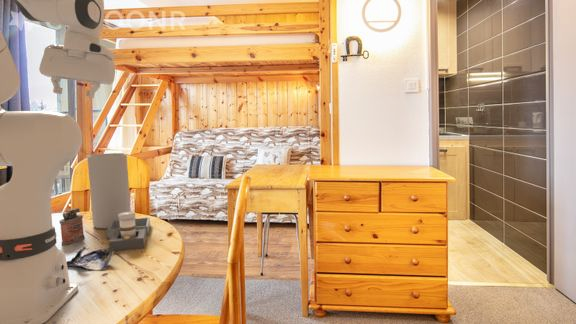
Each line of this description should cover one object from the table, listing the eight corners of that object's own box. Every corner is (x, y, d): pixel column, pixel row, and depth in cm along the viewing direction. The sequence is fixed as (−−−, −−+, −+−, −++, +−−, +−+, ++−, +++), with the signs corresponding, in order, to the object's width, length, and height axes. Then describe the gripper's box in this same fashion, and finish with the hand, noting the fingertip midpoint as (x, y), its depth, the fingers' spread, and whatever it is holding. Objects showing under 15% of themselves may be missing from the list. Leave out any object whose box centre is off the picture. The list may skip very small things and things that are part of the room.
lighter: (68, 245, 116) (65, 213, 115) (58, 245, 116) (55, 212, 115) (87, 237, 124) (84, 206, 122) (78, 237, 124) (75, 206, 123)
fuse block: (144, 248, 112) (143, 236, 111) (110, 251, 109) (109, 239, 109) (146, 238, 121) (145, 226, 121) (115, 241, 119) (114, 230, 118)
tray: (148, 235, 124) (147, 226, 124) (107, 239, 121) (106, 230, 121) (150, 225, 136) (149, 217, 135) (113, 229, 132) (112, 220, 132)
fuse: (136, 246, 114) (134, 214, 113) (119, 248, 112) (117, 216, 111) (137, 241, 118) (135, 211, 117) (121, 243, 117) (119, 212, 116)
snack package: (65, 280, 92) (118, 268, 97) (61, 253, 92) (115, 242, 98) (65, 271, 102) (113, 261, 108) (62, 247, 102) (110, 238, 108)
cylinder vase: (136, 224, 138) (131, 154, 135) (99, 231, 130) (93, 157, 127) (124, 218, 147) (119, 152, 145) (88, 224, 139) (82, 155, 136)
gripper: (38, 39, 108) (30, 88, 107) (110, 48, 107) (102, 97, 106) (53, 47, 114) (45, 93, 113) (120, 55, 113) (113, 102, 113)
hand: (73, 95), depth 110 cm, fingers open, 8 cm apart
